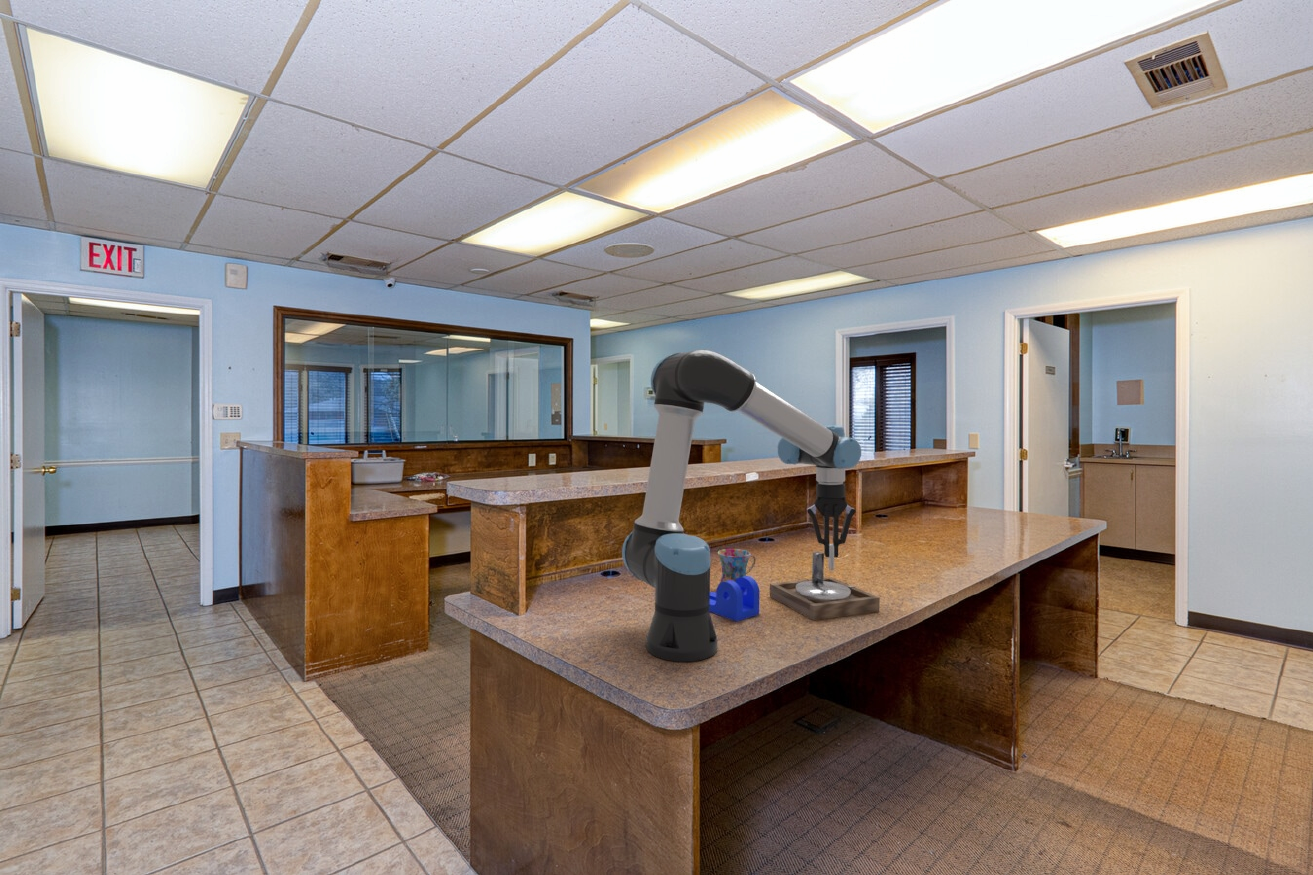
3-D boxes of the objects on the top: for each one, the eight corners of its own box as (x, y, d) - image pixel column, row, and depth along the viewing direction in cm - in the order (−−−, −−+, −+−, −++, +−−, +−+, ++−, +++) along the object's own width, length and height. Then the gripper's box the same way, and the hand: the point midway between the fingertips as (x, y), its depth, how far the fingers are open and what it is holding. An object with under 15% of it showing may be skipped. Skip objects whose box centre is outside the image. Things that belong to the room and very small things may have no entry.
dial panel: (813, 620, 148) (813, 605, 147) (769, 596, 166) (769, 582, 166) (879, 611, 155) (879, 596, 155) (830, 589, 173) (830, 576, 173)
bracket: (759, 614, 152) (759, 579, 151) (736, 622, 146) (737, 585, 146) (707, 597, 165) (708, 564, 165) (685, 603, 160) (686, 569, 160)
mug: (729, 596, 166) (729, 557, 165) (710, 587, 174) (711, 550, 174) (764, 590, 172) (765, 553, 171) (745, 582, 180) (745, 546, 179)
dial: (857, 604, 153) (858, 565, 153) (802, 603, 154) (802, 564, 153) (841, 588, 167) (842, 552, 167) (790, 587, 168) (791, 551, 167)
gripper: (853, 480, 166) (853, 565, 168) (805, 480, 168) (806, 564, 170) (857, 484, 159) (858, 573, 160) (807, 484, 161) (808, 572, 162)
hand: (831, 568), depth 165 cm, fingers closed
